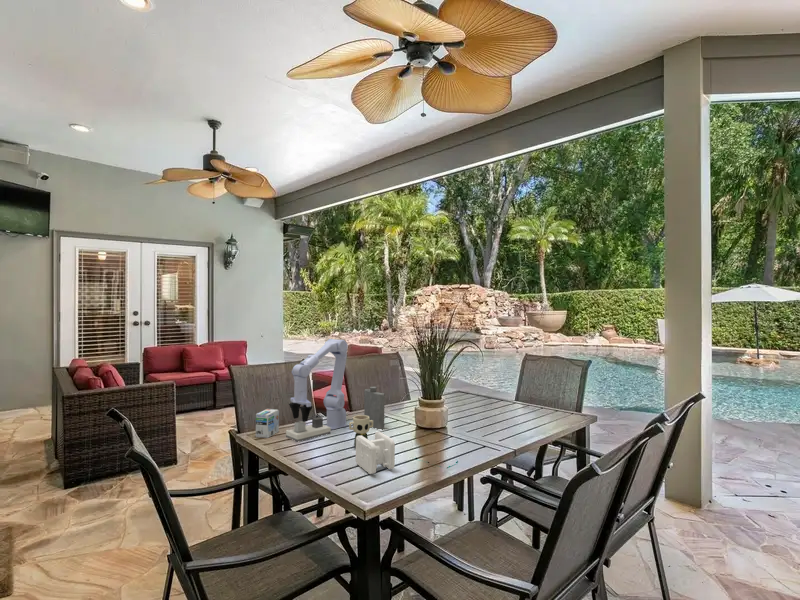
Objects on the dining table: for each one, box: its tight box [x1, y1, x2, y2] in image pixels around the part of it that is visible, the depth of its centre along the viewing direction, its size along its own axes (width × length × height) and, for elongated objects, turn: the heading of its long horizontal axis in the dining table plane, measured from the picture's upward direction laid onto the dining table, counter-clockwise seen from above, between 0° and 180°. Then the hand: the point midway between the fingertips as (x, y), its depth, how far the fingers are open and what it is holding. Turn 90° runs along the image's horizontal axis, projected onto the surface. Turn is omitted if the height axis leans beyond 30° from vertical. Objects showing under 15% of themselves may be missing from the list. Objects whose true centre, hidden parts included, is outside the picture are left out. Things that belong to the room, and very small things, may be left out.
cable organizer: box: [355, 431, 396, 475], centre depth 164 cm, size 15×11×12 cm
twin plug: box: [311, 416, 324, 428], centre depth 208 cm, size 4×3×4 cm
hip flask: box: [363, 386, 385, 430], centre depth 220 cm, size 16×4×20 cm, turn 37°
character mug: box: [348, 414, 373, 448], centre depth 188 cm, size 11×7×13 cm, turn 111°
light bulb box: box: [255, 408, 280, 439], centre depth 205 cm, size 11×7×11 cm, turn 168°
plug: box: [293, 420, 307, 433], centre depth 201 cm, size 4×3×6 cm
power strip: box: [285, 424, 332, 443], centre depth 204 cm, size 18×10×3 cm, turn 135°
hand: (300, 419), depth 201 cm, fingers open, 7 cm apart
